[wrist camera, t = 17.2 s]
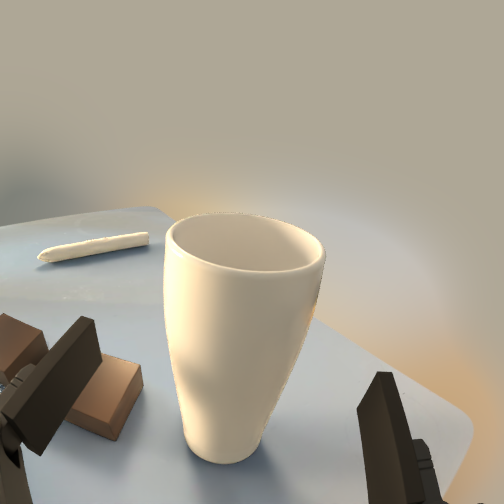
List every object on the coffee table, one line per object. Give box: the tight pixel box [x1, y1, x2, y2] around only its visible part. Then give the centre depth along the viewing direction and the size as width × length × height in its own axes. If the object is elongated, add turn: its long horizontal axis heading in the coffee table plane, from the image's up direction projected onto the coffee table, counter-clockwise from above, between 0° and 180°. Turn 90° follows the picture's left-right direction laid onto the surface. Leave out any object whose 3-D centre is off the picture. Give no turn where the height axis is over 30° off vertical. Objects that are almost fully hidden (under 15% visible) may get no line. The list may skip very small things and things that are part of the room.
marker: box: [37, 232, 149, 262], centre depth 40 cm, size 18×2×2 cm, turn 130°
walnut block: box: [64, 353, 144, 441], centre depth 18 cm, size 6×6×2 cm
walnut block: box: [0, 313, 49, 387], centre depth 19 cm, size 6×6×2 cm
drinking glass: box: [163, 213, 326, 464], centre depth 15 cm, size 7×7×15 cm
